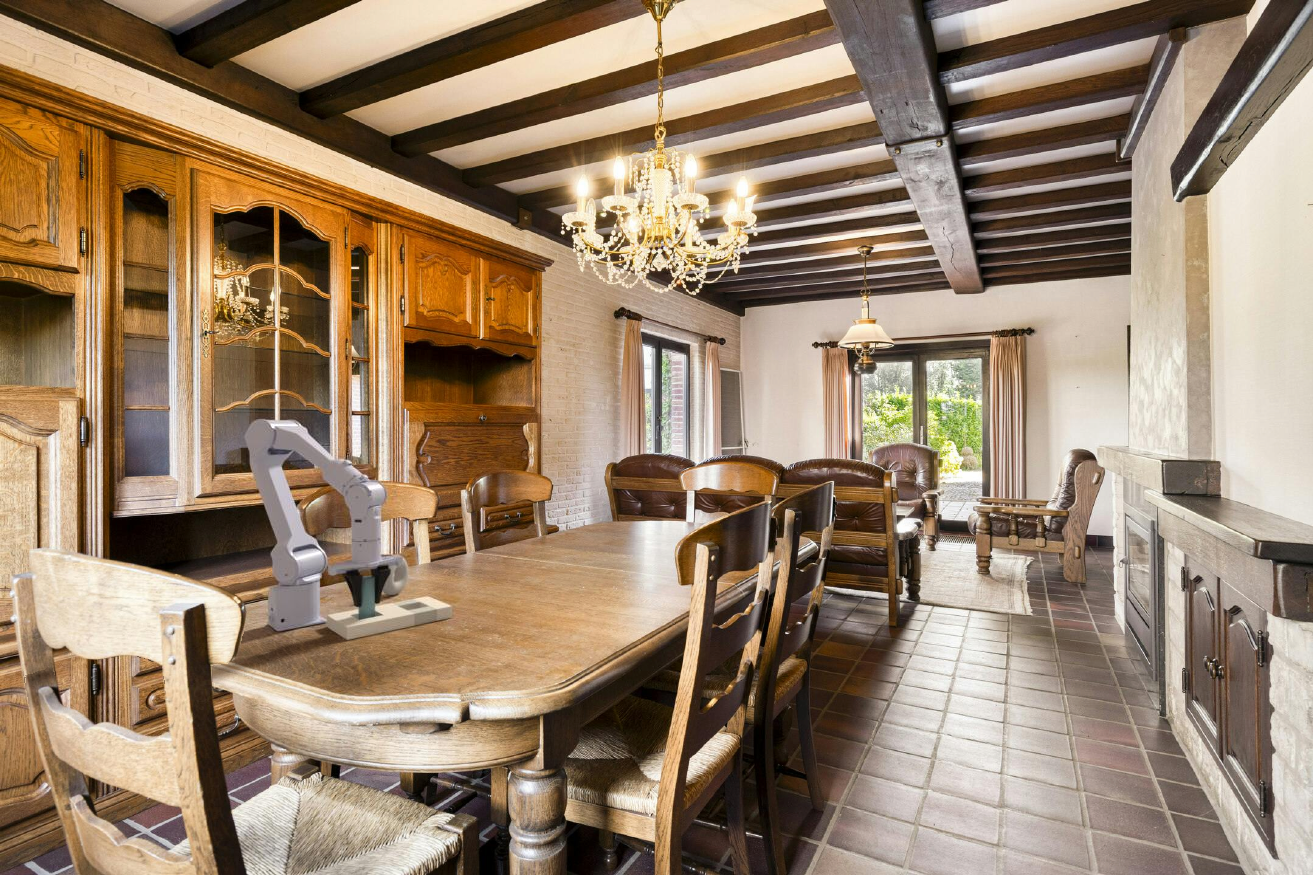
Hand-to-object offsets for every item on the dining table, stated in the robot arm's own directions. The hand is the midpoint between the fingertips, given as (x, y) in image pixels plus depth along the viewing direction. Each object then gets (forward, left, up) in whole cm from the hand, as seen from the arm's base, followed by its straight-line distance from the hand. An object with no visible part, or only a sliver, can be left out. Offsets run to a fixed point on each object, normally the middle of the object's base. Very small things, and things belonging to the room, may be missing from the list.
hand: (366, 604), depth 137 cm
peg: (0, 0, -3) cm, 3 cm away
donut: (+15, +23, -5) cm, 28 cm away
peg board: (+5, 0, -5) cm, 7 cm away
